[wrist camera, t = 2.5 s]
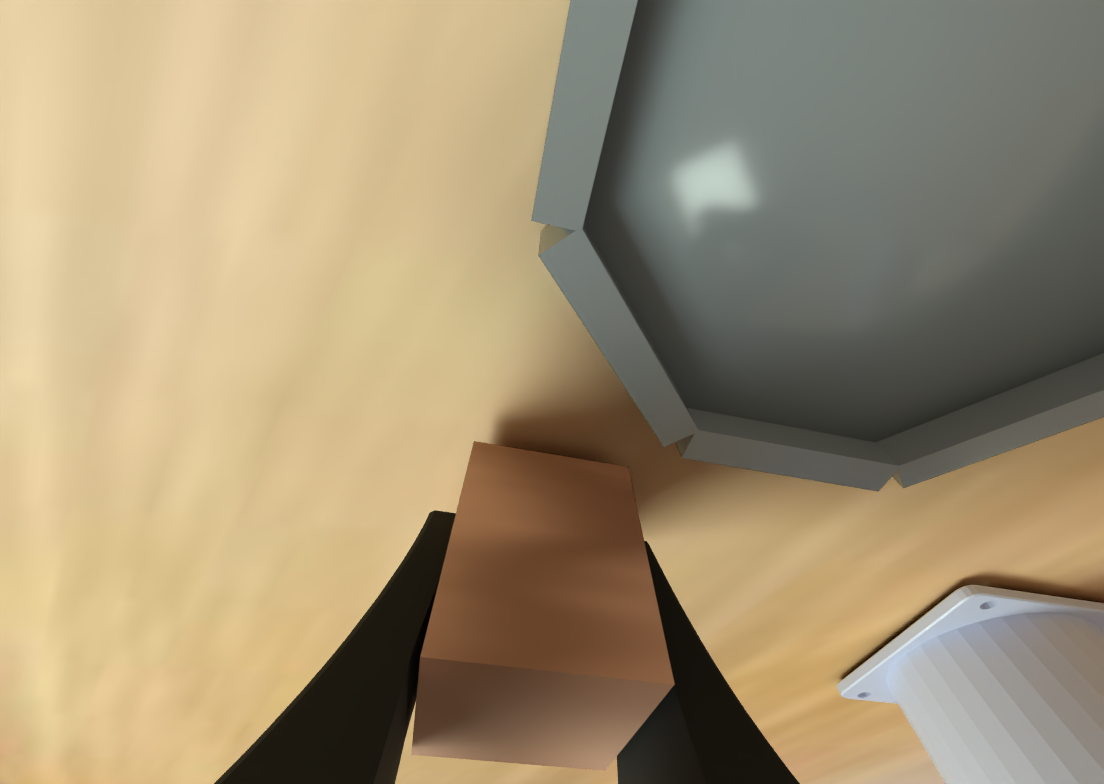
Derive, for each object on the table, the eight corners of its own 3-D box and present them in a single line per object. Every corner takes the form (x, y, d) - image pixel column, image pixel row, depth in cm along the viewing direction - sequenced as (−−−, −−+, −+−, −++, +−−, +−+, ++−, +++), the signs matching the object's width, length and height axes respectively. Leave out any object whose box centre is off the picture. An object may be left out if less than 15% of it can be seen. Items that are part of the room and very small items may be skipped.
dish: (1814, -371, 5) (2400, -600, 3) (967, 465, 12) (1029, 517, 10) (751, -1008, 3) (923, -1976, 2) (503, 381, 10) (494, 426, 9)
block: (628, 466, 11) (674, 684, 7) (588, 560, 13) (604, 770, 9) (473, 441, 10) (420, 657, 6) (458, 542, 13) (411, 754, 8)
